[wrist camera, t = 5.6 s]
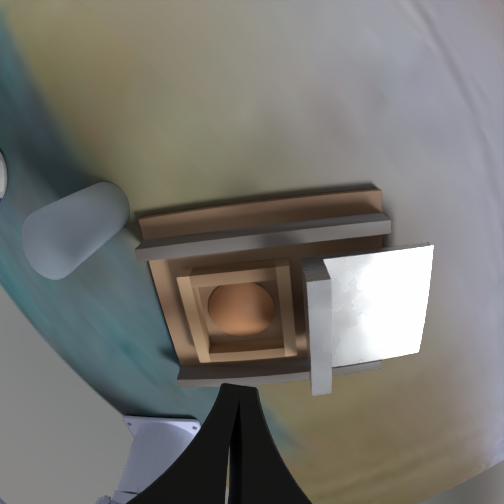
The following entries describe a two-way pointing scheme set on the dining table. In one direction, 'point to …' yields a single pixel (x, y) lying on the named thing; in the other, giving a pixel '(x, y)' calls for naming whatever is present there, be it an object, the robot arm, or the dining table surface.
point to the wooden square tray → (251, 280)
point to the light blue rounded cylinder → (73, 228)
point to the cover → (363, 307)
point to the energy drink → (3, 176)
